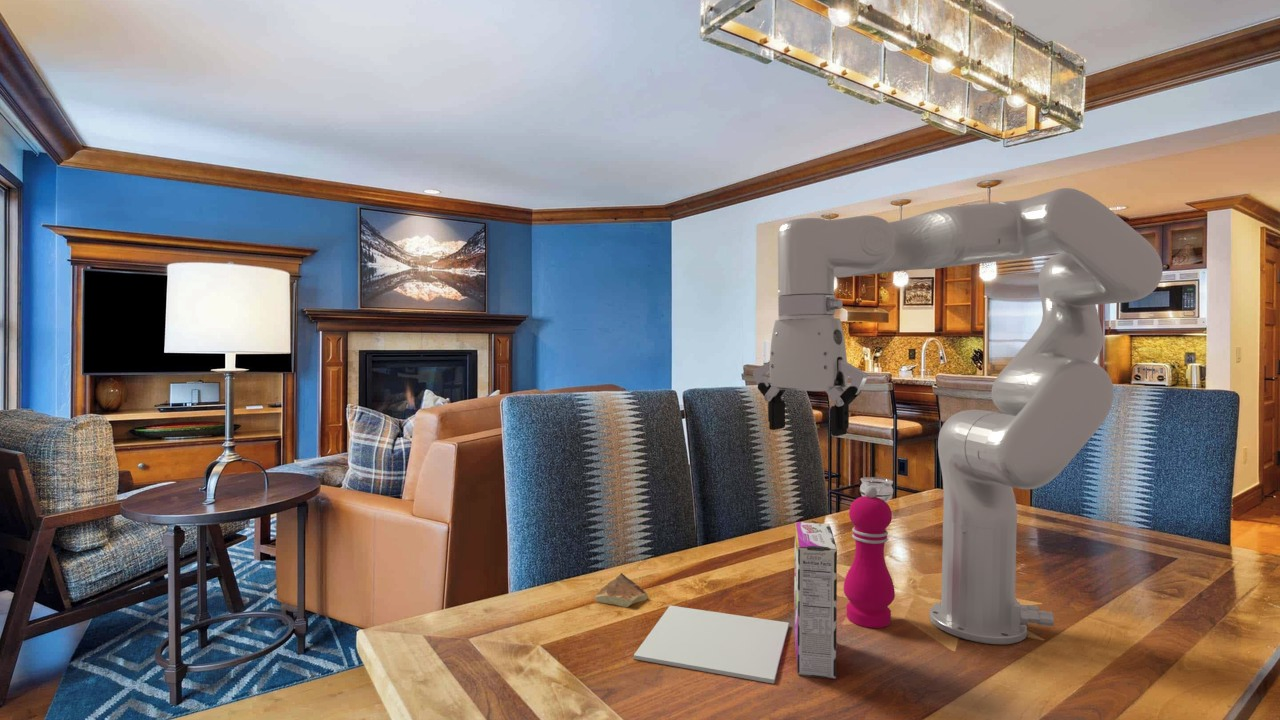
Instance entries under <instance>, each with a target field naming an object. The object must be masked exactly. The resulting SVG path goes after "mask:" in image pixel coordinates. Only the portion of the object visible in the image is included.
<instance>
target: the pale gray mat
mask: <svg viewBox="0 0 1280 720" xmlns="http://www.w3.org/2000/svg"><path fill="white" fill-rule="evenodd" d="M789 626H790V623H789V622H787V621H779V620H772V619H765V618H760V617H759V618H758V617H752V616H745V615H738V614H732V613H731V614H730V613H724V612H718V611H710V610H705V609H704V610H703V609H696V608H689V607H683V606H677V605H669V606H668V607H667V609H666V610H665V611H664V613H663V614H662V616H661V617H660V618H659V619H658V621H657V622H656V624H655V625H654V627H653V628H652V629H651V631H650V632H649V633H648V635H647V636H646V638H645V639H644V640H643V641H642V643H641V645H640V646H639V647H638V649H637V650H636V651H635V652H634V654H633V660H638V661H643V662H649V663H654V664H660V665H665V666H671V667H677V668H682V669H683V668H684V669H687V670H688V669H689V670H693V671H695V670H696V671H700V672H706V673H710V674H716V675H717V674H718V675H723V676H728V677H733V678H735V677H736V678H738V679H739V678H740V679H746V680H752V681H757V682H763V683H768V684H769V683H770V684H775V682H776V678H777V674H778V669H779V667H780V662H781V659H782V655H783V654H782V653H783V650H784V646H785V643H786V642H785V641H786V638H787V634H788V630H789Z"/></svg>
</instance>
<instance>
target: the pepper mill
mask: <svg viewBox="0 0 1280 720" xmlns="http://www.w3.org/2000/svg"><path fill="white" fill-rule="evenodd" d="M864 493H865V495H866V496H859V497H857V498H855V499H854V500H853V501H852V503H851V504H850V506H849V511H848V517H849V519H850V522H851V523H852V525H854V527H852V528H851V530H852V534H851V536H852V538H853V539H854V542H855V543H854V544H855V553H854V558H853V561H852V563H851V565H850V568H849V570H848V571H847V573H846V574H845V578H844V581H843V594H844V595H845V597H846V598H847V600H848V601H849V602H848V603H847V604H846V617H847V619H848V620H849V621H850V622H851V623H852V624H855V625H858V626H861V627H864V628H871V629H873V628H874V629H881V628H886V627H888V626H889V625H891V623H892V622H891V620H892V618H891V617H892V610H891V609H890V608H889V606H890V605H891V604H892V603H893V601H894V600H895V595H896V594H895V593H896V592H895V585H894V581H893V579H892V576H891V574H890V572H889V569H888V567H887V564H886V561H885V543H886V542H888V540H889V537H888V538H887V536H888V534H889V532H888V531H887V530H886V528H888V526H890V525H891V523H892V519H893V513H892V510H891V507H890V505H889V503H888V502H885V501H884V500H882V499H880V498H877V497H876V495H877V490H876V489H875V488H874V487H872V486H869V487H867V488H866V489H865V491H864Z"/></svg>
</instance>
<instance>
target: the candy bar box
mask: <svg viewBox="0 0 1280 720" xmlns="http://www.w3.org/2000/svg"><path fill="white" fill-rule="evenodd" d="M836 544H837V543H836V540H835V538H834V534H833V530H832V528H831V524H830V523H822V522H819V523H817V522H806V521H796V522H795V523H794V571H793V572H794V577H793V579H794V580H793V581H794V582H793V583H794V589H793V594H794V595H793V597H794V601H793V602H794V603H793V606H794V608H793V609H794V612H793V613H794V615H793V616H794V618H793V619H794V645H795V646H794V649H795V659H796V668H797V675H798V676H802V677H808V678H809V677H810V678H812V677H813V678H821V679H822V678H824V679H830V680H836V679H837V634H838V633H837V629H838V628H837V625H838V624H837V621H838V620H837V619H838V618H837V617H838V616H837V605H838V603H837V599H838V598H837V596H838V592H837V591H838V589H837V588H838V587H837V586H838V585H837V584H838V581H837V579H838V574H837V572H838V571H837V570H838V569H837V568H838V566H837V565H838V564H837V562H838V549H837V548H838V547H837V545H836Z"/></svg>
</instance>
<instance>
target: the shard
mask: <svg viewBox="0 0 1280 720" xmlns="http://www.w3.org/2000/svg"><path fill="white" fill-rule="evenodd" d="M594 598H595V599H594V601H595V602H596V603H600V604H608V605H614V606H619V607H624V608H628V607H630V606H631V605H634V604H637V603H639V602H643V601H647V600H648V598H649V594H648V593H646V591H645V590H643V589H642V588H641V587H640V586H639V585H638V584H637V583H635V582H634V581H633V580H631V579H630V578H628V577H626V576H625V574H623V573H622V572H621V573H620V574H619V575H618V576H616V578H614V579H613V580H612V581H609V582H608V583H607V584H605V586H603V587H602V588H601V589H600V590H599V591H597V593H596V594H595V597H594Z"/></svg>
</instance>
